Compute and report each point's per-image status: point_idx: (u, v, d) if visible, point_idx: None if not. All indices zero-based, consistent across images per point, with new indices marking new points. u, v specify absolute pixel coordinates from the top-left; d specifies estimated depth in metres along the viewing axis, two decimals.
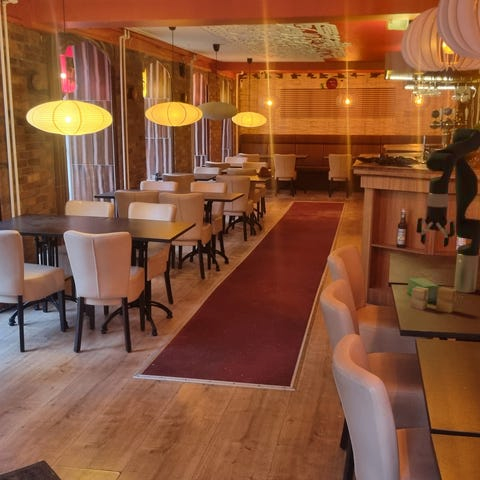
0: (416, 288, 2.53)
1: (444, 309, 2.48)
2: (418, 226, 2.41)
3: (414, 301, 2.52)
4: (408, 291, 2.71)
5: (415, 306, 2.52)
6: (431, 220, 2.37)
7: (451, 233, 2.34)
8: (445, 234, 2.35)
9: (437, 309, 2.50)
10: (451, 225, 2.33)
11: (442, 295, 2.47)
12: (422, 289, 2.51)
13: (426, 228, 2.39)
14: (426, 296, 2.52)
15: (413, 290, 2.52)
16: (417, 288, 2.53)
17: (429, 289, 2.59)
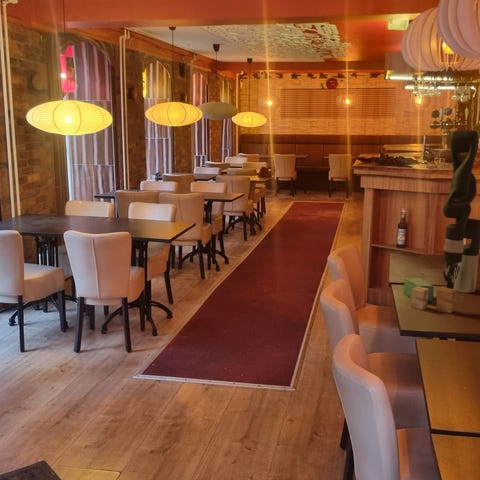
0: (416, 288, 2.53)
1: (444, 309, 2.48)
2: (450, 277, 2.46)
3: (414, 301, 2.52)
4: (404, 291, 2.72)
5: (415, 306, 2.52)
6: (453, 265, 2.47)
7: (456, 276, 2.51)
8: (454, 278, 2.50)
9: (437, 309, 2.50)
10: (458, 269, 2.53)
11: (442, 295, 2.47)
12: (422, 289, 2.51)
13: (454, 275, 2.48)
14: (426, 296, 2.52)
15: (413, 290, 2.52)
16: (417, 288, 2.53)
17: None
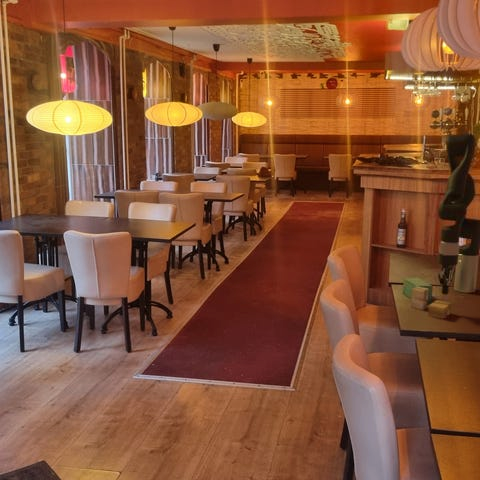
0: (416, 288, 2.53)
1: None
2: (445, 280, 2.42)
3: (414, 301, 2.52)
4: (403, 291, 2.72)
5: (415, 306, 2.52)
6: (448, 268, 2.43)
7: (451, 279, 2.47)
8: (449, 281, 2.46)
9: None
10: (454, 272, 2.48)
11: None
12: (422, 289, 2.51)
13: (449, 278, 2.44)
14: (426, 296, 2.52)
15: (413, 290, 2.52)
16: (417, 288, 2.53)
17: None
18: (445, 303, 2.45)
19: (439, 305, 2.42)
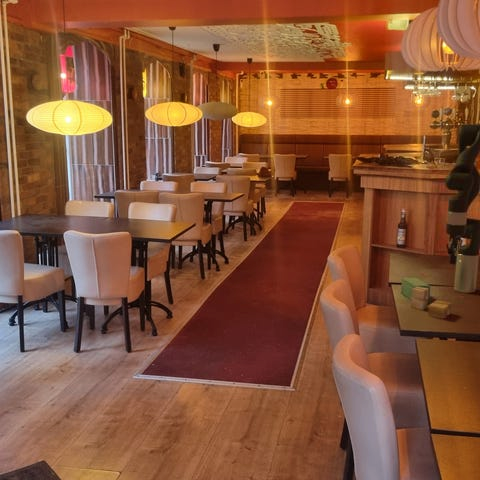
0: (416, 288, 2.53)
1: None
2: (453, 250, 2.44)
3: (414, 301, 2.52)
4: (401, 290, 2.72)
5: (415, 306, 2.52)
6: (456, 238, 2.45)
7: (459, 249, 2.49)
8: (457, 251, 2.48)
9: None
10: (461, 243, 2.50)
11: None
12: (422, 289, 2.51)
13: (457, 247, 2.46)
14: (426, 296, 2.52)
15: (413, 290, 2.52)
16: (417, 288, 2.53)
17: None
18: (445, 303, 2.45)
19: (439, 305, 2.42)
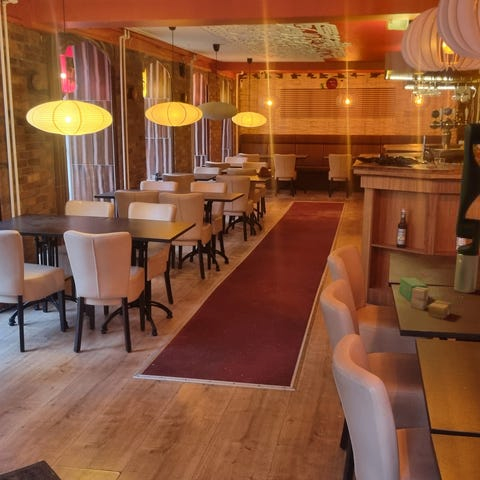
0: (416, 288, 2.53)
1: None
2: None
3: (414, 301, 2.52)
4: (399, 290, 2.72)
5: (415, 306, 2.52)
6: None
7: None
8: None
9: None
10: None
11: None
12: (422, 289, 2.51)
13: None
14: (426, 296, 2.52)
15: (413, 290, 2.52)
16: (417, 288, 2.53)
17: None
18: (445, 303, 2.45)
19: (439, 305, 2.42)
